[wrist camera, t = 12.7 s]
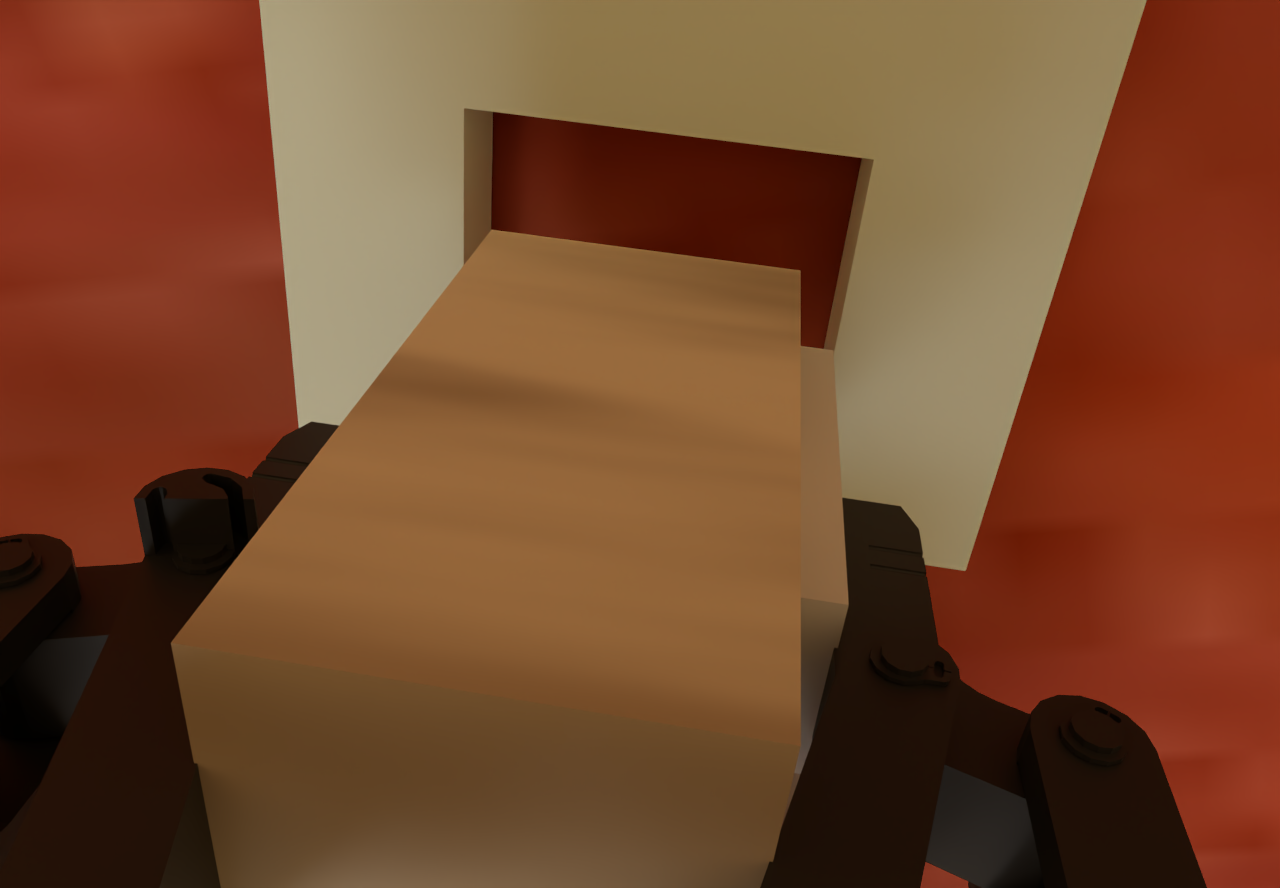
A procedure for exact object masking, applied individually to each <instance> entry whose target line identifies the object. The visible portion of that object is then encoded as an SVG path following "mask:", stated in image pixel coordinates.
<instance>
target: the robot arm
mask: <svg viewBox="0 0 1280 888" xmlns="http://www.w3.org/2000/svg"><path fill="white" fill-rule="evenodd" d="M338 427H339V425H332V424H325V423H319V422H312V421H311V422H309V423H308V424H306V425H304V426H302V427H300V428H298V429H297V430H295V431H293V432H291V433H289V434H287V435H286V436H284V437H283V438H282V439H281V440H280V441H279V442H278V443H277V445H276V446H275V447H274V448H273V449H272V450H271V452H270V453H269V454H268V455H267V456H266V461H262V462H261V463H260V464H259V466H258V467H257V468H256V469H255V470H254V472H253V475H252V477H248V479H246V478H245V477H244V476H242V475H239V474H237V473H234V472H232V471H229V470H223V469H215V468H199V469H187V470H182V471H179V472H175V473H172V474H168V475H165V476H162V477H160V478H158V479H157V480H155V481H153V482H151V483H149V484H148V485H146V486H144V487H143V489H142V490H141V491H140V492H139V493H138V494H137V495H136V496H135V498H134V502H135V507H136V512H137V517H138V522H139V527H140V532H141V537H142V542H143V547H144V553H145V557H144V559H143V561H142V562H140V563H132V564H124V565H107V566H90V567H75V563H74V558H73V554H72V550H71V549H70V548H69V547H68V546H67V545H66V544H65V543H64V542H63V541H62V540H60V539H57V538H53V537H50V536H47V535H43V534H18V535H11V536H5V537H1V538H0V888H221V886H220V881H219V875H218V870H217V865H216V860H215V854H214V849H213V844H212V838H211V833H210V828H209V823H208V817H207V812H206V807H205V802H204V796H203V791H202V786H201V780H200V775H199V770H198V765H197V764H196V763H194V761H193V756H192V750H191V745H190V740H189V735H188V730H187V724H186V719H185V714H184V709H183V704H182V698H181V693H180V688H179V683H178V678H177V673H176V667H175V662H174V657H173V652H172V647H171V642H172V641H173V639H174V638H175V637H176V636H177V634H178V633H179V632H180V630H181V629H182V628H183V627H184V625H185V624H186V623H187V621H188V620H189V619H190V618H191V616H192V615H193V614H194V612H195V611H196V610H197V608H198V607H199V606H200V605H201V603H202V602H203V601H204V599H205V598H206V597H207V596H208V594H209V593H210V592H211V590H212V589H213V588H214V587H215V585H216V584H217V583H218V581H219V580H220V579H221V578H222V576H223V575H224V574H225V572H226V571H227V570H228V569H229V567H230V566H231V565H232V563H233V562H234V561H235V560H236V558H237V557H238V556H239V554H240V553H241V552H242V550H243V549H244V548H245V547H246V545H247V544H248V543H249V541H250V540H251V539H252V538H253V536H254V535H255V534H256V532H257V531H258V530H259V529H260V527H261V526H262V525H263V523H264V522H265V521H266V520H267V518H268V517H269V516H270V514H271V513H272V512H273V511H274V509H275V508H276V507H277V505H278V504H279V503H280V502H281V500H282V499H283V498H284V496H285V495H286V494H287V493H288V491H289V490H290V489H291V487H292V486H293V485H294V483H295V482H296V481H297V480H298V478H299V477H300V476H301V474H302V473H303V472H304V471H305V469H306V468H307V467H308V465H309V464H310V463H311V462H312V460H313V459H314V458H315V456H316V455H317V454H318V453H319V451H320V450H321V449H322V447H323V446H324V445H325V444H326V442H327V441H328V440H329V438H330V437H331V436H332V435H333V433H334V432H335V431H336V429H337V428H338ZM922 556H923V550H922V544H921V538H920V532H919V529H918V527H917V526H916V525H915V524H914V522H913V521H912V520H911V518H910V517H909V516H908V515H907V513H906V512H905V511H904V510H903V508H902V507H901V506H896V505H889V504H883V503H876V502H869V501H862V500H856V499H849V498H842V487H841V470H840V454H839V437H838V421H837V404H836V388H835V371H834V355H833V350H828V349H820V348H813V347H806V346H801V747H800V751H799V755H798V759H797V764H796V768H795V772H794V773H797V774H800V777H799V780H798V783H797V785H796V788H795V791H794V794H793V797H792V799H791V802H790V805H789V808H788V811H787V814H786V816H785V819H784V822H783V825H782V828H781V830H780V835H779V839H778V843H777V847H776V851H775V855H774V860H773V862H770V861H769V864H768V867H767V870H766V873H765V876H764V878H763V881H762V884H761V887H760V888H920V886H921V881H922V876H923V871H924V866H925V862H928V863H930V864H932V865H934V866H936V867H939V868H941V869H943V870H945V871H947V872H949V873H952V874H954V875H956V876H958V877H960V878H962V879H965V880H967V881H969V883H968V885H969V888H1207V887H1206V884H1205V881H1204V879H1203V876H1202V873H1201V870H1200V868H1199V865H1198V862H1197V860H1196V857H1195V854H1194V851H1193V849H1192V846H1191V843H1190V841H1189V838H1188V835H1187V832H1186V830H1185V827H1184V824H1183V821H1182V819H1181V816H1180V813H1179V811H1178V808H1177V805H1176V802H1175V800H1174V797H1173V794H1172V792H1171V789H1170V786H1169V783H1168V781H1167V778H1166V775H1165V773H1164V770H1163V767H1162V764H1161V762H1160V759H1159V756H1158V754H1157V751H1156V749H1155V747H1154V746H1153V744H1152V742H1151V741H1150V739H1149V738H1148V736H1147V734H1146V733H1145V731H1143V730H1142V729H1141V728H1140V727H1139V726H1138V725H1137V724H1136V723H1135V722H1133V721H1132V720H1131V719H1130V718H1129V717H1128V716H1127V715H1125V714H1123V713H1121V712H1120V711H1118V710H1116V709H1114V708H1112V707H1111V706H1109V705H1107V704H1105V703H1103V702H1099V701H1096V700H1093V699H1089V698H1086V697H1082V696H1072V695H1057V696H1054V697H1051V698H1048V699H1045V700H1042V701H1040V702H1039V704H1038V705H1037V706H1036V707H1035V708H1034V710H1033V711H1032V712H1031V714H1028V713H1025V712H1023V711H1020V710H1018V709H1015V708H1013V707H1010V706H1007V705H1005V704H1002V703H1000V702H997V701H995V700H993V699H991V698H989V697H987V696H985V695H983V694H980V693H978V692H977V691H975V690H974V689H973V688H971V687H970V686H968V685H967V684H965V683H964V682H963V681H961V680H960V675H959V668H958V667H957V665H956V664H955V662H954V661H953V659H952V658H951V656H950V654H949V653H948V652H946V651H945V650H944V649H943V648H941V647H940V646H939V645H938V639H937V633H936V627H935V622H934V616H933V610H932V604H931V598H930V592H929V586H928V580H927V577H926V568H925V562H924V558H922Z"/></svg>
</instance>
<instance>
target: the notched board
mask: <svg viewBox="0 0 1280 888" xmlns="http://www.w3.org/2000/svg"><path fill="white" fill-rule="evenodd" d="M1146 1H1147V0H259V3H260V14H261V25H262V35H263V46H264V57H265V68H266V79H267V89H268V100H269V111H270V122H271V133H272V143H273V154H274V165H275V176H276V187H277V198H278V208H279V219H280V230H281V241H282V252H283V262H284V273H285V284H286V295H287V306H288V316H289V327H290V338H291V349H292V360H293V370H294V381H295V392H296V403H297V414H298V424H299V428H300V427H302V426H304V425H306V424H308V423H309V422H311V421H312V422H319V423H325V424H332V425H340V424H341V423H342V422H343V420H344V419H345V418H346V416H347V415H348V414H349V413H350V411H351V410H352V409H353V407H354V406H355V405H356V404H357V402H358V401H359V400H360V398H361V397H362V396H363V395H364V393H365V392H366V391H367V389H368V388H369V387H370V386H371V384H372V383H373V382H374V380H375V379H376V378H377V377H378V375H379V374H380V373H381V371H382V370H383V369H384V368H385V366H386V365H387V364H388V362H389V361H390V360H391V358H392V357H393V356H394V355H395V353H396V352H397V351H398V349H399V348H400V347H401V346H402V344H403V343H404V342H405V340H406V339H407V338H408V337H409V335H410V334H411V333H412V331H413V330H414V329H415V328H416V326H417V325H418V324H419V322H420V321H421V320H422V319H423V317H424V316H425V315H426V313H427V312H428V311H429V310H430V308H431V307H432V306H433V304H434V303H435V302H436V300H437V299H438V298H439V297H440V295H441V294H442V293H443V291H444V290H445V289H446V288H447V286H448V285H449V284H450V282H451V281H452V280H453V279H454V277H455V276H456V275H457V273H458V272H459V271H460V270H461V268H462V267H463V266H464V264H465V263H466V262H467V261H468V259H469V258H470V257H471V255H472V254H473V253H474V252H475V250H476V249H477V248H478V246H479V245H480V244H481V242H482V241H483V240H484V239H485V237H486V236H487V235H488V233H489V232H490V231H491V204H492V142H493V112H499V113H507V114H515V115H523V116H531V117H539V118H547V119H555V120H563V121H571V122H579V123H587V124H595V125H603V126H610V127H618V128H626V129H634V130H642V131H650V132H658V133H666V134H674V135H682V136H690V137H698V138H706V139H714V140H722V141H730V142H738V143H746V144H754V145H762V146H770V147H778V148H786V149H794V150H802V151H810V152H818V153H826V154H834V155H842V156H850V157H858V158H862V160H861V165H860V170H859V175H858V180H857V185H856V190H855V195H854V200H853V205H852V210H851V215H850V220H849V225H848V230H847V235H846V240H845V245H844V250H843V255H842V260H841V265H840V270H839V275H838V280H837V285H836V290H835V295H834V300H833V305H832V310H831V315H830V320H829V325H828V330H827V335H826V340H825V345H824V349H828V350H833V355H834V371H835V388H836V404H837V421H838V437H839V454H840V470H841V487H842V498H849V499H856V500H862V501H869V502H876V503H883V504H889V505H896V506H901V507H902V508H903V510H904V511H905V512H906V513H907V515H908V516H909V517H910V518H911V520H912V521H913V522H914V524H915V525H916V526H917V527H918V529H919V532H920V538H921V544H922V550H923V556H922V558H924V562H925V565H929V566H935V567H942V568H949V569H955V570H962V571H966V568H967V565H968V562H969V559H970V556H971V553H972V549H973V546H974V543H975V540H976V537H977V534H978V530H979V527H980V524H981V521H982V518H983V515H984V512H985V508H986V505H987V502H988V499H989V496H990V493H991V489H992V486H993V483H994V480H995V477H996V474H997V471H998V467H999V464H1000V461H1001V458H1002V455H1003V452H1004V448H1005V445H1006V442H1007V439H1008V436H1009V433H1010V430H1011V426H1012V423H1013V420H1014V417H1015V414H1016V411H1017V407H1018V404H1019V401H1020V398H1021V395H1022V392H1023V389H1024V385H1025V382H1026V379H1027V376H1028V373H1029V370H1030V366H1031V363H1032V360H1033V357H1034V354H1035V351H1036V348H1037V344H1038V341H1039V338H1040V335H1041V332H1042V329H1043V325H1044V322H1045V319H1046V316H1047V313H1048V310H1049V307H1050V303H1051V300H1052V297H1053V294H1054V291H1055V288H1056V284H1057V281H1058V278H1059V275H1060V272H1061V269H1062V266H1063V262H1064V259H1065V256H1066V253H1067V250H1068V247H1069V244H1070V240H1071V237H1072V234H1073V231H1074V228H1075V225H1076V221H1077V218H1078V215H1079V212H1080V209H1081V206H1082V203H1083V199H1084V196H1085V193H1086V190H1087V187H1088V184H1089V180H1090V177H1091V174H1092V171H1093V168H1094V165H1095V162H1096V158H1097V155H1098V152H1099V149H1100V146H1101V143H1102V139H1103V136H1104V133H1105V130H1106V127H1107V124H1108V121H1109V117H1110V114H1111V111H1112V108H1113V105H1114V102H1115V98H1116V95H1117V92H1118V89H1119V86H1120V83H1121V80H1122V76H1123V73H1124V70H1125V67H1126V64H1127V61H1128V57H1129V54H1130V51H1131V48H1132V45H1133V42H1134V39H1135V35H1136V32H1137V29H1138V26H1139V23H1140V20H1141V16H1142V13H1143V10H1144V7H1145V4H1146Z"/></svg>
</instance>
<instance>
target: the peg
mask: <svg viewBox="0 0 1280 888" xmlns="http://www.w3.org/2000/svg"><path fill="white" fill-rule="evenodd" d="M171 647H172V652H173V657H174V662H175V667H176V673H177V678H178V683H179V688H180V693H181V698H182V704H183V709H184V714H185V719H186V724H187V730H188V735H189V740H190V745H191V750H192V756H193V761H194V763H196V764H197V765H198V770H199V775H200V780H201V786H202V791H203V796H204V802H205V807H206V812H207V817H208V823H209V828H210V833H211V838H212V844H213V849H214V854H215V860H216V865H217V870H218V875H219V881H220V886H221V888H760V887H761V884H762V881H763V878H764V876H765V873H766V870H767V867H768V864H769V861H770V862H773V860H774V855H775V851H776V847H777V843H778V839H779V835H780V830H781V826H782V822H783V818H784V814H785V810H786V805H787V801H788V797H789V793H790V789H791V785H792V780H793V776H794V772H795V768H796V764H797V759H798V755H799V751H800V747H801V270H793V269H786V268H778V267H771V266H763V265H756V264H748V263H741V262H733V261H725V260H718V259H710V258H703V257H695V256H688V255H680V254H673V253H665V252H657V251H650V250H642V249H635V248H627V247H620V246H612V245H605V244H597V243H589V242H582V241H574V240H567V239H559V238H552V237H544V236H537V235H529V234H521V233H514V232H506V231H499V230H491V231H490V232H489V233H488V235H487V236H486V237H485V239H484V240H483V241H482V242H481V244H480V245H479V246H478V248H477V249H476V250H475V252H474V253H473V254H472V255H471V257H470V258H469V259H468V261H467V262H466V263H465V264H464V266H463V267H462V268H461V270H460V271H459V272H458V273H457V275H456V276H455V277H454V279H453V280H452V281H451V282H450V284H449V285H448V286H447V288H446V289H445V290H444V291H443V293H442V294H441V295H440V297H439V298H438V299H437V300H436V302H435V303H434V304H433V306H432V307H431V308H430V310H429V311H428V312H427V313H426V315H425V316H424V317H423V319H422V320H421V321H420V322H419V324H418V325H417V326H416V328H415V329H414V330H413V331H412V333H411V334H410V335H409V337H408V338H407V339H406V340H405V342H404V343H403V344H402V346H401V347H400V348H399V349H398V351H397V352H396V353H395V355H394V356H393V357H392V358H391V360H390V361H389V362H388V364H387V365H386V366H385V368H384V369H383V370H382V371H381V373H380V374H379V375H378V377H377V378H376V379H375V380H374V382H373V383H372V384H371V386H370V387H369V388H368V389H367V391H366V392H365V393H364V395H363V396H362V397H361V398H360V400H359V401H358V402H357V404H356V405H355V406H354V407H353V409H352V410H351V411H350V413H349V414H348V415H347V416H346V418H345V419H344V420H343V422H342V423H341V424H340V425H339V427H338V428H337V429H336V431H335V432H334V433H333V435H332V436H331V437H330V438H329V440H328V441H327V442H326V444H325V445H324V446H323V447H322V449H321V450H320V451H319V453H318V454H317V455H316V456H315V458H314V459H313V460H312V462H311V463H310V464H309V465H308V467H307V468H306V469H305V471H304V472H303V473H302V474H301V476H300V477H299V478H298V480H297V481H296V482H295V483H294V485H293V486H292V487H291V489H290V490H289V491H288V493H287V494H286V495H285V496H284V498H283V499H282V500H281V502H280V503H279V504H278V505H277V507H276V508H275V509H274V511H273V512H272V513H271V514H270V516H269V517H268V518H267V520H266V521H265V522H264V523H263V525H262V526H261V527H260V529H259V530H258V531H257V532H256V534H255V535H254V536H253V538H252V539H251V540H250V541H249V543H248V544H247V545H246V547H245V548H244V549H243V550H242V552H241V553H240V554H239V556H238V557H237V558H236V560H235V561H234V562H233V563H232V565H231V566H230V567H229V569H228V570H227V571H226V572H225V574H224V575H223V576H222V578H221V579H220V580H219V581H218V583H217V584H216V585H215V587H214V588H213V589H212V590H211V592H210V593H209V594H208V596H207V597H206V598H205V599H204V601H203V602H202V603H201V605H200V606H199V607H198V608H197V610H196V611H195V612H194V614H193V615H192V616H191V618H190V619H189V620H188V621H187V623H186V624H185V625H184V627H183V628H182V629H181V630H180V632H179V633H178V634H177V636H176V637H175V638H174V639H173V641H172V642H171Z"/></svg>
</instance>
